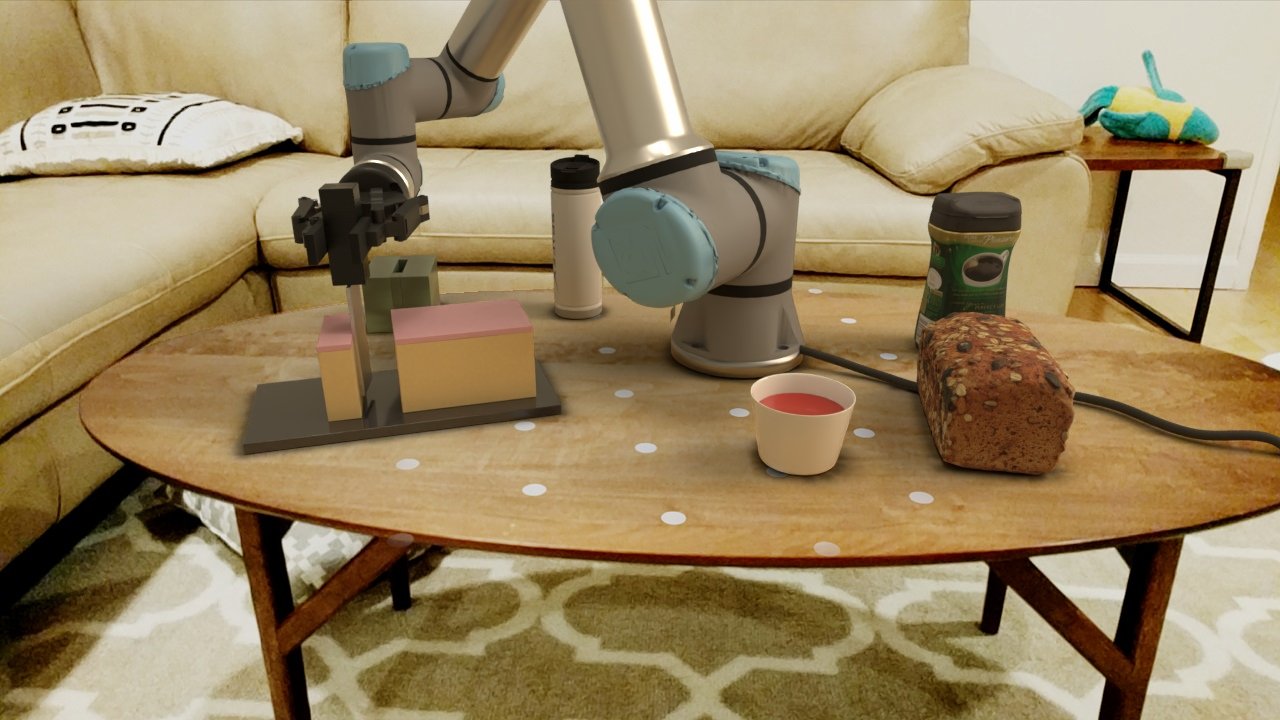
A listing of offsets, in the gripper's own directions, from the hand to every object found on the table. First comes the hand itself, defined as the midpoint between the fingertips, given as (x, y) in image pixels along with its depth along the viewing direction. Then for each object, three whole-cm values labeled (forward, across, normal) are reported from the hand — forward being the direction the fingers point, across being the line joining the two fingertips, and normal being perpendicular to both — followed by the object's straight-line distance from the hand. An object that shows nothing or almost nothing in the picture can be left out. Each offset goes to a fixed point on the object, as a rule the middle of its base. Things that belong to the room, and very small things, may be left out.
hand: (333, 249), depth 75 cm
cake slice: (-5, +2, -17) cm, 18 cm away
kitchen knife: (-5, 0, -16) cm, 16 cm away
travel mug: (-33, -23, -18) cm, 44 cm away
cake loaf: (-7, -10, -17) cm, 21 cm away
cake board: (-6, -4, -18) cm, 19 cm away
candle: (+10, -40, -18) cm, 45 cm away
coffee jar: (-14, -66, -18) cm, 70 cm away
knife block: (-33, 0, -18) cm, 37 cm away
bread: (+6, -59, -18) cm, 62 cm away
